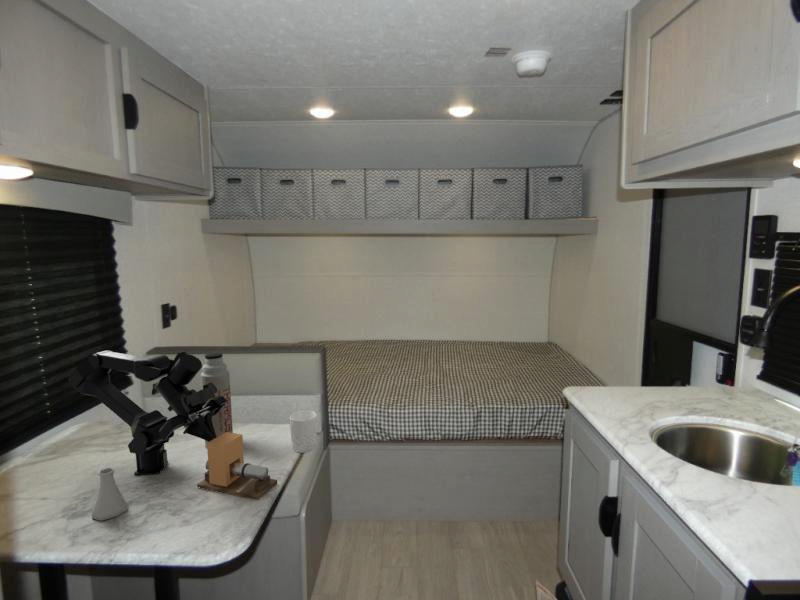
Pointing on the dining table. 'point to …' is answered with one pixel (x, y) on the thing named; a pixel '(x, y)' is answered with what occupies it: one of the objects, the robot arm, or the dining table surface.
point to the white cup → (303, 431)
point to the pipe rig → (243, 481)
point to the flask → (108, 497)
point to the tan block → (224, 457)
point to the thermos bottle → (218, 391)
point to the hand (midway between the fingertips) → (215, 441)
